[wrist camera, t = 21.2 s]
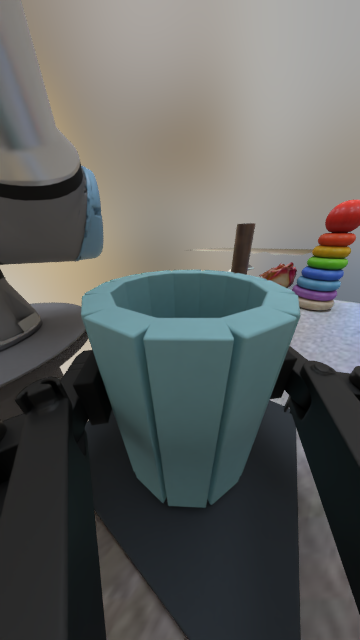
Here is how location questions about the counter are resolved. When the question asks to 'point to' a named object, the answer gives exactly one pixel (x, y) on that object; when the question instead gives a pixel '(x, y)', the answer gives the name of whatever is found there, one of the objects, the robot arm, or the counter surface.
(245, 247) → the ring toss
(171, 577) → the mat
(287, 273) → the flower
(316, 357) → the counter surface
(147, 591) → the counter surface
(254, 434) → the planter pot
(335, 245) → the stacking toy
